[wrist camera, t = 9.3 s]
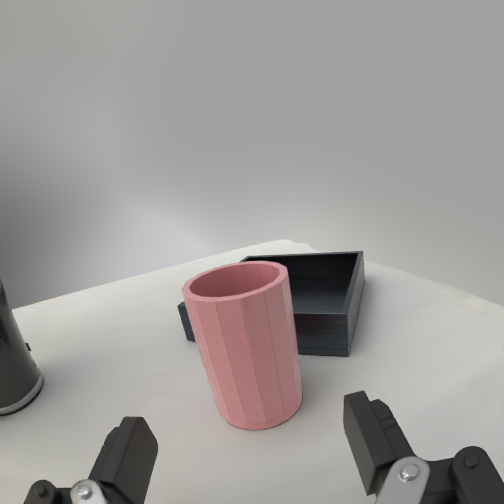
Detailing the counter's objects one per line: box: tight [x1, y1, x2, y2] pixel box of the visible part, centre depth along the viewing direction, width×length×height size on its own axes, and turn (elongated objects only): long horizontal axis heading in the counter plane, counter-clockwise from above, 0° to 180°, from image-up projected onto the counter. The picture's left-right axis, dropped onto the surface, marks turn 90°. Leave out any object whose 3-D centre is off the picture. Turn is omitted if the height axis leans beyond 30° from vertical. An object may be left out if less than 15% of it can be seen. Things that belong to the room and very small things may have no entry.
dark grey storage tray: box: [178, 251, 365, 356], centre depth 34 cm, size 17×17×4 cm
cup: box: [181, 261, 303, 430], centre depth 19 cm, size 6×6×10 cm
